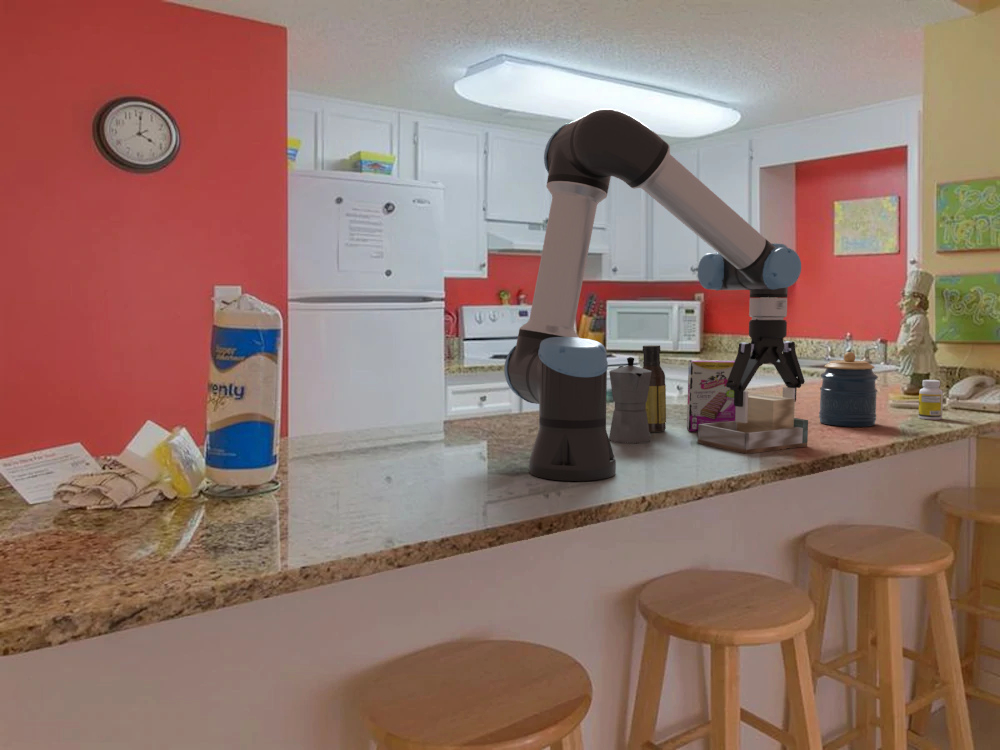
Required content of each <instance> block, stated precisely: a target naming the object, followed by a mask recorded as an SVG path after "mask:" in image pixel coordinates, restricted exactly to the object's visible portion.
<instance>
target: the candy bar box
mask: <svg viewBox="0 0 1000 750" xmlns="http://www.w3.org/2000/svg"><path fill="white" fill-rule="evenodd" d="M734 362H735V360H724V359H722V360H721V359H720V360H719V359H718V360H716V359H714V360H713V359H711V360H710V359H689V360H688V376H687V405H686V407H687V409H686V429H687V430H688V432H694V433H695V432H697V433H698V424H707V423H718V422H728V421H735V413H736V406H734V390H731V389H730V388H728V387H726V383H727V380H728V378H729V375H730V373H731V370H732V367H733V365H734ZM733 382H734V381H733Z"/></svg>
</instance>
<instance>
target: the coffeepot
mask: <svg viewBox="0 0 1000 750" xmlns="http://www.w3.org/2000/svg"><path fill="white" fill-rule="evenodd" d="M626 360H627V365H625V366H624V365H620V366H618V368H615V369H611V370H609V378H610V379H609V380H610V388H611V394H612V395H611V397H612V401H613V402H614V409H613V412H612V419H611V423H610V424H611V425H610V429H609V435H608V438H609V441H610V442H614V443H617V444H643V443H644V444H645V443H649V442H650V440H651V432H649V425H648V419H647V412H646V410H645V409H646V402H647V398H648V392H649V385H650V379H651V372H652V371H650V370H647V369H643V367H640V366H636V365H634V362H635V357H631V356H629V357H627V358H626Z"/></svg>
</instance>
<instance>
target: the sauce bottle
mask: <svg viewBox="0 0 1000 750" xmlns="http://www.w3.org/2000/svg"><path fill="white" fill-rule="evenodd" d="M642 353H643V362H642V363H643V366H642V368H643V369H647V370H650V371H652V372H651V379H650V385H649V392H648V398H647V402H646V409H645V410H646V412H647V419H648V425H649V432H650V433H661V432H664V431H666V430H667V429H666V427H667V426H666V423H667V401H666V400H667V395H666V393H667V392H666V391H667V388H666V386H667V385H666V375H665V374H666V373H665V371H664V370H663V368H662V367H661V355H660V353H661V345H660V344H644V345H642Z"/></svg>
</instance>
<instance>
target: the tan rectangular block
mask: <svg viewBox="0 0 1000 750" xmlns="http://www.w3.org/2000/svg"><path fill="white" fill-rule="evenodd" d="M794 402H795V399H791V398H784V397H783V396H776V395H769V394H761V393H759V394H758V393H757V394H756V393H755V394H748V422H747V423H741V422H737V431H739V432H744V433H752V432H762V431H772V430H778V429H783V428H793V427H794V418H795V410H794ZM795 403H796V402H795Z"/></svg>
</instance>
